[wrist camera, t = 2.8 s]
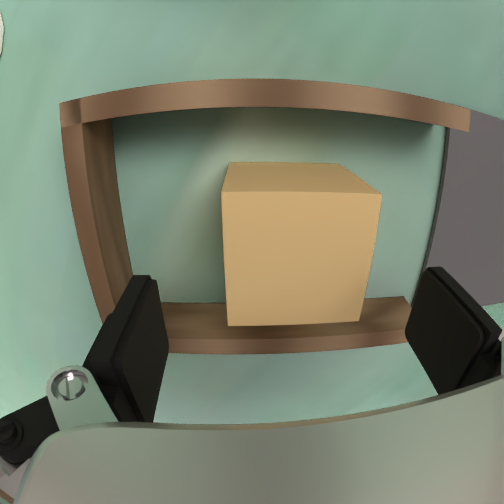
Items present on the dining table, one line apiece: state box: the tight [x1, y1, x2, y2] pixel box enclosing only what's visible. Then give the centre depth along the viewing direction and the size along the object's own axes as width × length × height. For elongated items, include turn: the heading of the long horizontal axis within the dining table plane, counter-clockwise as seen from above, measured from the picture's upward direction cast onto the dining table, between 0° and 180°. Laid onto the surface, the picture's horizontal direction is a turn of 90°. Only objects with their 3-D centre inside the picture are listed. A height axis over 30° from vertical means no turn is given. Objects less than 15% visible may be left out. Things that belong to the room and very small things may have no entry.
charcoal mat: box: [411, 104, 504, 308], centre depth 18 cm, size 12×15×1 cm
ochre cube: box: [221, 162, 382, 326], centre depth 15 cm, size 6×6×6 cm
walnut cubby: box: [60, 79, 470, 354], centre depth 16 cm, size 20×14×4 cm
